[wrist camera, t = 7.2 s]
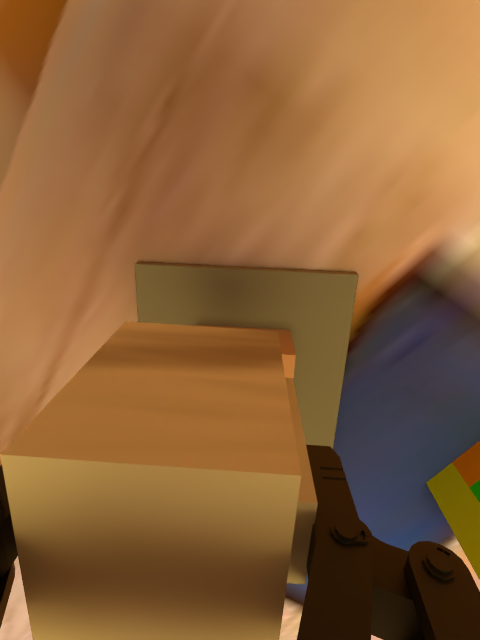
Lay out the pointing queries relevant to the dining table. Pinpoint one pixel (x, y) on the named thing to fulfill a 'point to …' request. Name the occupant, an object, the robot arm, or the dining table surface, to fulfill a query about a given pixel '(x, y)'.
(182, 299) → the olive square panel
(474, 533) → the puzzle toy
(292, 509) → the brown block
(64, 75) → the dining table surface
